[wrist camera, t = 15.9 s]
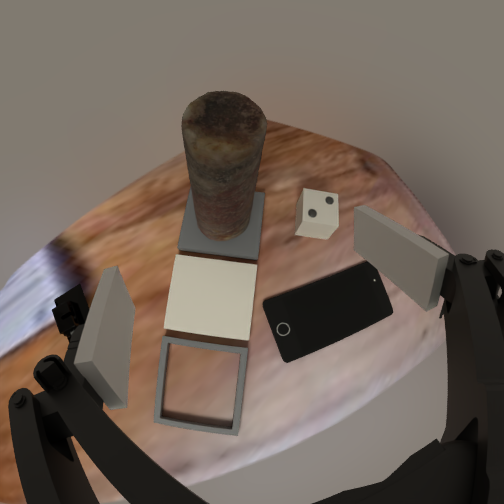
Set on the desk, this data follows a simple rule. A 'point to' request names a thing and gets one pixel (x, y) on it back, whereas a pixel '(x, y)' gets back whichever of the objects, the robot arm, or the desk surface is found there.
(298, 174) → the desk surface
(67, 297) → the black chunky piece
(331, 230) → the die
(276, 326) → the cell phone
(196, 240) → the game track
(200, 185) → the candle
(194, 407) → the desk surface
